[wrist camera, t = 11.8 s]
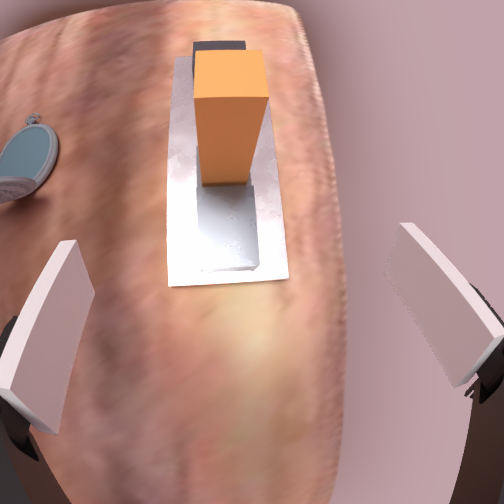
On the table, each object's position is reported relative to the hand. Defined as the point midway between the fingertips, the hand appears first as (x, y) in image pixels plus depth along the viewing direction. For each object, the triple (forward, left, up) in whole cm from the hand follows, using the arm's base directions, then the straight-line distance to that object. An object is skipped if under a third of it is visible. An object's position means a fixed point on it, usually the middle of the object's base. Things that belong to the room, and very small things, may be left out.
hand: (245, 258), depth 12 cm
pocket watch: (-26, -13, -18) cm, 34 cm away
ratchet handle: (-14, +8, -16) cm, 23 cm away
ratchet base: (-12, +7, -18) cm, 23 cm away
